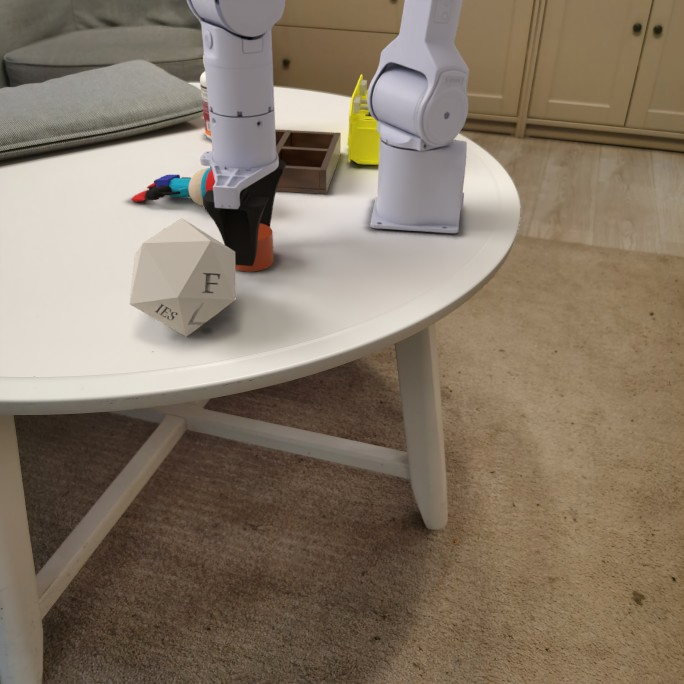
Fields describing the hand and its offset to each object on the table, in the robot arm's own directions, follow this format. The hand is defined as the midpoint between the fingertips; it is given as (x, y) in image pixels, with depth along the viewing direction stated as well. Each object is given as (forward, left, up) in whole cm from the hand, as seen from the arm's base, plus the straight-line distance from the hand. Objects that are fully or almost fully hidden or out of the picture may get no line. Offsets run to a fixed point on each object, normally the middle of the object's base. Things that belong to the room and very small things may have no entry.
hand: (250, 248), depth 69 cm
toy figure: (+9, -13, -2) cm, 16 cm away
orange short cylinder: (0, 0, -1) cm, 1 cm away
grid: (+2, -25, -1) cm, 25 cm away
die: (+3, +11, -2) cm, 12 cm away
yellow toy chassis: (-9, -35, -2) cm, 36 cm away
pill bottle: (+12, -37, -2) cm, 39 cm away
